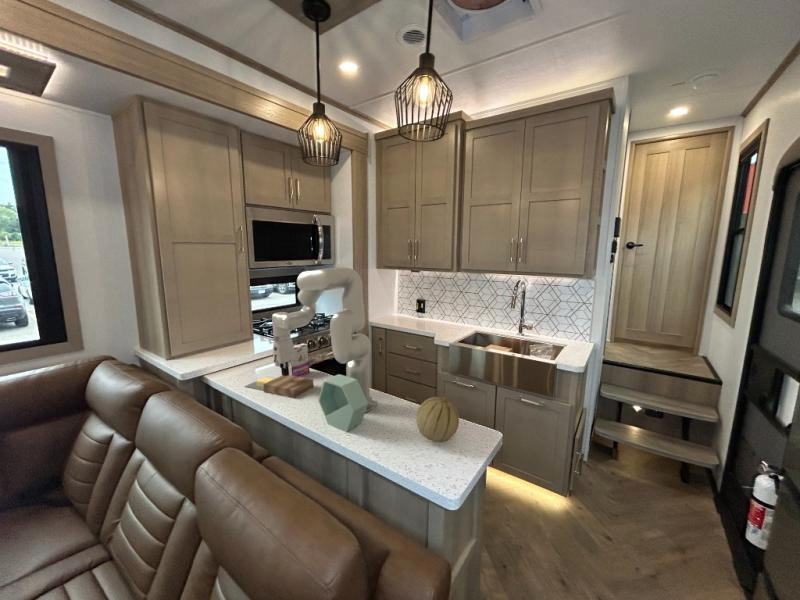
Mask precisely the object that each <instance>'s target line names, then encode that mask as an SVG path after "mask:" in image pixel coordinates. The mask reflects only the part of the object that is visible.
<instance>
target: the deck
mask: <svg viewBox="0 0 800 600" xmlns="http://www.w3.org/2000/svg"><path fill="white" fill-rule="evenodd" d="M275 378H276V379H273V380H271V381H269V382H267V383H265V384H263V385H264V391H263V393H267V394H271V395H276V396H280V397H285V398H289V399H290V398H291V399H295V398H296V397H298V396H301V395H302V394H304V393H305V392H307V391H309V390H311V389H313V388H314V379H313V378H308V377H304V376H300V377H298V376H292V375H287V376H282V375H280V376H278V377H275Z"/></svg>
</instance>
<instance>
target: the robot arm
mask: <svg viewBox="0 0 800 600" xmlns="http://www.w3.org/2000/svg"><path fill="white" fill-rule="evenodd" d="M296 285H297V287H298V288H299V292H298V293H297V299H298V301H299V303H301V304H302V308H301V309H300V310H298V311H293V312H287V311H286V312H285V311H280V312H275V313H273V314H272V315H271V319H272V320H271V321H272V332H273V333H272V334H273V339H272V341H273V345H272V346H273V347H272V357H273V359H272V360H273V362H274V365H275V367H279V368H280V371H281V376H287V375H289V366H290V362H291V361H292V360H293V359H294V358H295V351H294V342H293V339H292V337H291V331H292V330H295V329H298V328H301V327H305V326H307V325H309V323H310V322H311V321H312V319H313V318H314V316H315V314H316V312H317V305H316V303H317V302H318V301H319V298H320V297H321V296H322V295H323V292H324V291H331V290H338V289H344V290H343V293H342V296H341V303H342V310H341V311H338V312H336V313H334V314H333V315H332V316H331V319H330V322H329V332H330V342H331V350H332V355H333V357H334V359H335V361H337V363H339V364H346V368H345V369H346V370H345V372H346V373H345V374H346V375H345V376H347V377H350V378H354V379H357V380H358V382H359V385H360V387H361V389H362V391H363V393H364V395H365V398H366V400H367V402H368V405H367V408H366V411H365V413H368V412H370V411H371V410H373V409H377V408H378V406H379V405H378V404H379V403H378V400H374V399H373V396H372V395H371V389H370V385H371V384H370V357H371V351H372V349H371V348H372V344H371V340H370V338H369V337H368V335H366V334H364V333H356V332H358V331H361V330H362V329H363V328H365V325H366V316H365V306H364V298H363V297H364V296H363V280H362V277H361V276H360V274H359V273H358V272H357V270H355V269H353V268H350V267H330V268H321V269H313V270H304V271H302V272H300V274H298V276H297V279H296ZM353 333H355V334H353Z"/></svg>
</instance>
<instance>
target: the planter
mask: <svg viewBox="0 0 800 600" xmlns="http://www.w3.org/2000/svg"><path fill="white" fill-rule="evenodd" d="M317 402H318V404H319V406H320V408H321V411H322V412H323V415H324V418H325V421H326V422H327V424H328V425H330V426H332V427H334V428H335V429H339V430H340V431H343V432H344V433H348V432H350V431H351V430H352V429H354V428H356V427H357V426H359V425H361V424H362V422H363V419H364V416H365V413H366V412H365V411H366V408H367V405H368V402H367V400H366V398H365V395H364V393H363V391H362V389H361V387H360V385H359V382H358V380H357V379H354V378H350V377H347V375H343V374H339V373H338V374H336V375H333V376H331V377H328V378H326V379H324V380H323V382H322V386H321V389H320V393H319V396H318V401H317Z"/></svg>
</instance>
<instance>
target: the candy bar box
mask: <svg viewBox="0 0 800 600" xmlns="http://www.w3.org/2000/svg"><path fill="white" fill-rule="evenodd" d="M293 345H294V344H293ZM294 351H295V358H294V359H293V360H292V361H291V362H290V366H289V375H292V376H298V377H303V376H305V375H308V374H310V359H309V344H307V343H300V344H295V345H294Z"/></svg>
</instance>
